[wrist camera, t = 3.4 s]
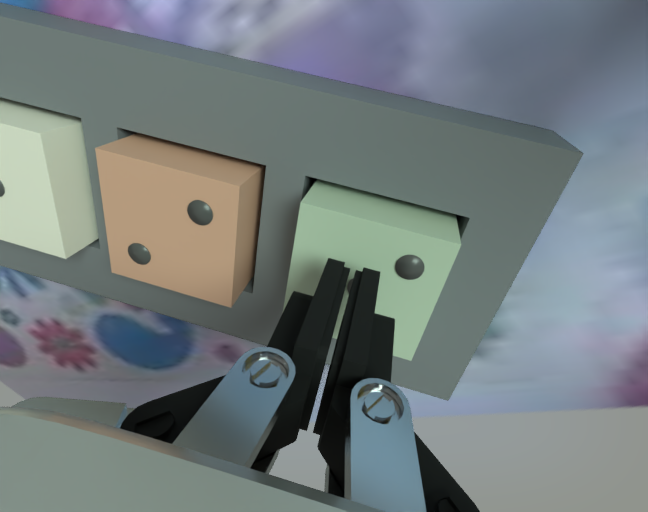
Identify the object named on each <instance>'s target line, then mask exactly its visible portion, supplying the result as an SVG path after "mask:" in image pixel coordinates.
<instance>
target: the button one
mask: <svg viewBox="0 0 648 512" xmlns="http://www.w3.org/2000/svg"><path fill="white" fill-rule="evenodd" d="M98 238H99V237H98V230H97V223H96V217H95V210H94V203H93V196H92V189H91V183H90V176H89V169H88V162H87V156H86V149H85V142H84V135H83V128H82V122H81V118H79V117H76V116H72V115H68V114H64V113H60V112H56V111H52V110H48V109H44V108H41V107H37V106H33V105H29V104H25V103H21V102H17V101H13V100H9V99H6V98H2V97H0V240H3V241H7V242H10V243H14V244H17V245H20V246H24V247H27V248H30V249H34V250H37V251H41V252H44V253H47V254H51V255H54V256H58V257H61V258H64V259H67V258H68V257H70V256H72V255H73V254H75V253H76V252H78V251H79V250H81V249H83V248H84V247H86V246H87V245H89V244H90V243H92V242H94V241H95V240H97V239H98Z"/></svg>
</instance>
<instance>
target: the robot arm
mask: <svg viewBox="0 0 648 512" xmlns="http://www.w3.org/2000/svg"><path fill="white" fill-rule="evenodd" d="M344 265H345V262H342V261H339V260H335V259H331V258H328V260H327V263H326V265H325V268H324V270H323V273H322V276H321V278H320V281H319V283H318V286H317V288H316V291H315V294H314V296H311V295H307V294H304V293H300V292H297V291H293V293H292V294H291V296H290V299H289V301H288V303H287V305H286V307H285V309H284V311H283V313H282V316H281V318H280V320H279V322H278V324H277V326H276V328H275V330H274V332H273V335H272V337H271V339H270V341H269V343H268V345H267V347H259V348H254V349H251V350H249V351H247V352H245V353H244V354H243V355H242V356H241V357H240V358H239V359H238V361H237V362H236V363H235V364H234V366H233V367H232V368H231V369H230V371H229V372H228V373H227V375H225V376H222V377H219V378H216V379H213V380H210V381H207V382H204V383H202V384H199V385H196V386H193V387H190V388H187V389H184V390H181V391H178V392H176V393H173V394H170V395H167V396H164V397H161V398H158V399H155V400H152V401H150V402H147V403H145V404H143V405H141V406H139V407H137V408H136V409H134V408H127V407H126V403H115V402H103V401H90V400H77V399H64V398H52V397H37V398H30V399H27V400H24V401H21V402H19V403H17V404H16V405H14V406H12V407H0V512H480V511H479V510H478V508H477V507H476V505H475V504H474V502H473V501H472V500H471V499H470V498H469V496H468V495H467V494H466V493H465V492H464V491H463V489H462V488H461V487H460V486H459V485H458V484H457V482H456V481H455V480H454V479H453V477H452V476H451V475H450V474H449V473H448V471H447V470H446V469H445V468H444V467H443V465H442V464H441V463H440V462H439V461H438V459H437V458H436V457H435V456H434V455H433V454H432V452H431V451H430V450H429V449H428V448H427V446H426V445H425V444H424V443H423V442H422V440H421V439H420V438H419V437H418V436H417V435H416V433H415V432H414V429H413V423H412V416H411V410H410V406H409V403H408V400H407V398H406V397H405V395H404V394H403V392H402V391H401V390H400V389H399V388H397V387H396V386H395V385H393V384H392V383H391V373H392V358H393V344H394V330H395V319H394V318H391V317H387V316H383V315H380V314H376V313H375V307H376V300H377V293H378V286H379V279H380V271H376V270H372V269H369V268H365V267H364V268H363V271H358V270H356V271H355V275H354V278H353V282H352V286H351V289H350V293H349V297H348V300H347V304H346V308H345V311H344V315H343V318H342V322H341V326H340V329H339V333H338V337H337V341H336V344H335V348H334V352H333V356H332V360H331V364H330V368H329V372H328V376H327V380H326V384H325V387H324V391H323V395H322V399H321V403H320V407H319V411H318V415H317V419H316V423H315V427H314V431H313V433H316V434H319V435H320V438H319V443H318V450H319V451H320V453H321V454H322V456H323V458H324V459H325V461H326V462H327V468H326V474H325V492H323V491H319V490H316V489H313V488H310V487H307V486H304V485H300V484H297V483H294V482H291V481H288V480H284V479H282V478H278V477H275V476H272V475H269V472H270V470H271V468H272V466H273V464H274V462H275V460H276V458H277V456H278V453H279V450H280V449H281V448H283V447H285V446H287V445H289V444H291V443H293V442H294V441H296V439H297V435H298V432H299V429H302V430H306V431H307V428H308V425H309V421H310V417H311V414H312V410H313V406H314V403H315V399H316V395H317V391H318V388H319V384H320V380H321V377H322V373H323V369H324V366H325V362H326V358H327V355H328V351H329V347H330V344H331V340H332V336H333V333H334V329H335V325H336V321H337V317H338V314H339V310H340V306H341V302H342V299H343V295H344V291H345V287H346V283H347V280H348V276H349V272H350V268H347V267H344Z"/></svg>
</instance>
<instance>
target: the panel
mask: <svg viewBox="0 0 648 512" xmlns="http://www.w3.org/2000/svg"><path fill="white" fill-rule="evenodd" d="M0 97H2V98H6V99H9V100H13V101H17V102H21V103H25V104H29V105H33V106H37V107H41V108H44V109H48V110H52V111H56V112H60V113H64V114H68V115H72V116H76V117H79V118H81V122H82V128H83V135H84V142H85V149H86V156H87V162H88V169H89V176H90V183H91V189H92V196H93V203H94V210H95V217H96V223H97V230H98V237H99V238H98V239H97V240H95V241H94V242H92V243H90V244H89V245H87V246H86V247H84V248H83V249H81V250H79V251H78V252H76V253H75V254H73V255H72V256H70V257H68V258H67V259H64V258H61V257H58V256H54V255H51V254H47V253H44V252H41V251H37V250H34V249H30V248H27V247H24V246H20V245H17V244H14V243H10V242H7V241H3V240H0V265H1V266H4V267H7V268H11V269H14V270H17V271H21V272H24V273H27V274H31V275H34V276H37V277H41V278H44V279H47V280H51V281H54V282H57V283H60V284H64V285H67V286H70V287H74V288H77V289H80V290H84V291H87V292H90V293H94V294H97V295H100V296H103V297H107V298H110V299H113V300H117V301H120V302H123V303H127V304H130V305H133V306H137V307H140V308H143V309H146V310H150V311H153V312H156V313H160V314H163V315H166V316H170V317H173V318H176V319H180V320H183V321H186V322H189V323H193V324H196V325H199V326H203V327H206V328H209V329H213V330H216V331H219V332H223V333H226V334H229V335H233V336H236V337H239V338H242V339H246V340H249V341H252V342H256V343H259V344H262V345H266V346H267V345H268V343H269V341H270V339H271V337H272V335H273V332H274V330H275V328H276V326H277V324H278V322H279V320H280V318H281V316H282V313H283V307H284V301H285V295H286V289H287V283H288V276H289V270H290V264H291V258H292V252H293V246H294V240H295V234H296V227H297V221H298V215H299V209H300V203H301V201H302V200H303V198H304V197H305V195H306V194H307V193H308V191H309V190H310V189H311V187H312V186H313V184H314V183H315V182H316V180H317V179H320V180H324V181H328V182H332V183H336V184H340V185H344V186H348V187H352V188H355V189H359V190H363V191H367V192H371V193H375V194H379V195H383V196H387V197H390V198H394V199H398V200H402V201H406V202H410V203H414V204H418V205H422V206H425V207H429V208H433V209H437V210H441V211H445V212H449V213H453V214H456V218H457V223H458V229H459V234H460V240H461V247H460V249H459V252H458V254H457V256H456V259H455V261H454V263H453V265H452V268H451V270H450V272H449V275H448V277H447V279H446V282H445V284H444V286H443V289H442V291H441V293H440V296H439V298H438V300H437V303H436V305H435V307H434V309H433V312H432V314H431V316H430V319H429V321H428V323H427V326H426V328H425V330H424V333H423V335H422V337H421V340H420V342H419V344H418V347H417V349H416V351H415V353H414V356H413V358H412V360H411V361H410V360H406V359H403V358H400V357H396V356H393V358H392V373H391V383H392V384H395V385H398V386H401V387H405V388H408V389H411V390H415V391H418V392H421V393H424V394H428V395H431V396H434V397H438V398H441V399H444V400H449V398H450V396H451V395H452V393H453V391H454V389H455V387H456V385H457V384H458V382H459V380H460V378H461V376H462V375H463V373H464V371H465V369H466V367H467V365H468V364H469V362H470V360H471V358H472V356H473V354H474V353H475V351H476V349H477V347H478V345H479V343H480V342H481V340H482V338H483V336H484V334H485V332H486V331H487V329H488V327H489V325H490V323H491V322H492V320H493V318H494V316H495V314H496V312H497V311H498V309H499V307H500V305H501V303H502V301H503V300H504V298H505V296H506V294H507V292H508V290H509V289H510V287H511V285H512V283H513V281H514V280H515V278H516V276H517V274H518V272H519V270H520V269H521V267H522V265H523V263H524V261H525V259H526V258H527V256H528V254H529V252H530V250H531V248H532V247H533V245H534V243H535V241H536V239H537V237H538V236H539V234H540V232H541V230H542V228H543V227H544V225H545V223H546V221H547V219H548V217H549V216H550V214H551V212H552V210H553V208H554V206H555V205H556V203H557V201H558V199H559V197H560V195H561V194H562V192H563V190H564V188H565V186H566V184H567V183H568V181H569V179H570V177H571V175H572V174H573V172H574V170H575V168H576V166H577V164H578V163H579V161H580V159H581V157H582V155H583V153H582V152H581V151H579V150H578V149H577V148H575V147H574V146H573V145H571V144H570V143H569V142H567V141H566V140H565V139H563V138H562V137H561V136H559V135H558V134H557V133H555V132H554V131H552V130H548V129H543V128H539V127H535V126H530V125H526V124H522V123H517V122H513V121H509V120H504V119H500V118H496V117H491V116H487V115H483V114H479V113H474V112H470V111H466V110H461V109H457V108H453V107H448V106H444V105H440V104H435V103H431V102H427V101H422V100H418V99H414V98H410V97H405V96H401V95H397V94H392V93H388V92H384V91H379V90H375V89H371V88H366V87H362V86H358V85H353V84H349V83H345V82H341V81H336V80H332V79H328V78H323V77H319V76H315V75H310V74H306V73H302V72H297V71H293V70H289V69H284V68H280V67H276V66H271V65H267V64H263V63H259V62H254V61H250V60H246V59H241V58H237V57H233V56H228V55H224V54H220V53H215V52H211V51H207V50H202V49H198V48H194V47H190V46H185V45H181V44H177V43H172V42H168V41H164V40H159V39H155V38H151V37H146V36H142V35H138V34H133V33H129V32H125V31H121V30H116V29H112V28H108V27H103V26H99V25H95V24H90V23H86V22H82V21H77V20H73V19H69V18H64V17H60V16H56V15H52V14H47V13H43V12H39V11H34V10H30V9H26V8H21V7H17V6H13V5H8V4H4V3H0ZM136 133H142V134H146V135H149V136H153V137H157V138H161V139H165V140H169V141H173V142H177V143H181V144H184V145H188V146H192V147H196V148H200V149H204V150H208V151H212V152H216V153H219V154H223V155H227V156H231V157H235V158H239V159H243V160H247V161H251V162H254V163H258V164H262V165H266V171H265V180H264V190H263V199H262V209H261V218H260V228H259V237H258V247H257V256H256V266H255V274H254V276H253V277H252V279H251V280H250V281H249V283H248V284H247V286H246V287H245V289H244V290H243V291H242V293H241V294H240V296H239V297H238V299H237V300H236V302H235V303H234V304H233V306H232V307H231V308H230V307H227V306H223V305H220V304H217V303H213V302H210V301H207V300H203V299H200V298H196V297H193V296H190V295H186V294H183V293H179V292H176V291H173V290H169V289H166V288H163V287H159V286H156V285H152V284H149V283H146V282H142V281H139V280H135V279H132V278H129V277H125V276H122V275H119V274H115V273H112V270H111V263H110V255H109V248H108V241H107V233H106V226H105V218H104V211H103V203H102V196H101V188H100V181H99V174H98V166H97V159H96V151H95V148H97V147H99V146H102V145H105V144H108V143H111V142H114V141H116V140H119V139H122V138H125V137H128V136H131V135H133V134H136ZM336 341H337V339H335V338H332V340H331V344H330V347H329V351H328V355H327V358H326V362H325V364H328V365H330V364H331V360H332V356H333V352H334V348H335V344H336Z"/></svg>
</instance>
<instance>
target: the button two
mask: <svg viewBox="0 0 648 512" xmlns="http://www.w3.org/2000/svg"><path fill="white" fill-rule="evenodd" d="M95 151H96V159H97V166H98V174H99V181H100V188H101V196H102V203H103V211H104V218H105V226H106V233H107V241H108V248H109V255H110V263H111V270H112V273H115V274H119V275H122V276H125V277H129V278H132V279H135V280H139V281H142V282H146V283H149V284H152V285H156V286H159V287H163V288H166V289H169V290H173V291H176V292H179V293H183V294H186V295H190V296H193V297H196V298H200V299H203V300H207V301H210V302H213V303H217V304H220V305H223V306H227V307H230V308H231V307H232V306H233V304H234V303H235V302H236V300H237V299H238V297H239V296H240V294H241V293H242V291H243V290H244V289H245V287H246V286H247V284H248V283H249V281H250V280H251V279H252V277H253V276H254V274H255V266H256V256H257V247H258V237H259V228H260V218H261V209H262V199H263V190H264V180H265V171H266V165H262V164H258V163H254V162H251V161H247V160H243V159H239V158H235V157H231V156H227V155H223V154H219V153H216V152H212V151H208V150H204V149H200V148H196V147H192V146H188V145H184V144H181V143H177V142H173V141H169V140H165V139H161V138H157V137H153V136H149V135H146V134H142V133H136V134H133V135H131V136H128V137H125V138H122V139H119V140H116V141H114V142H111V143H108V144H105V145H102V146H99V147H97V148H95Z"/></svg>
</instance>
